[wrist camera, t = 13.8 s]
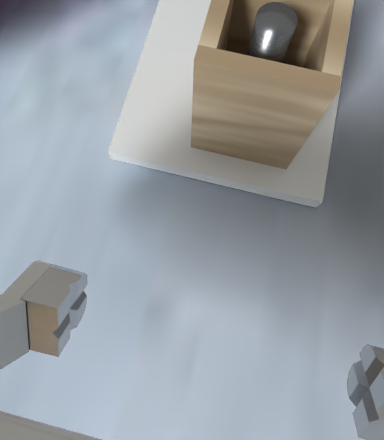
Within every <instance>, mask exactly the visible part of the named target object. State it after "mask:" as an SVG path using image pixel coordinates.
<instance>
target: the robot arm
mask: <svg viewBox="0 0 384 440" xmlns="http://www.w3.org/2000/svg"><path fill="white" fill-rule="evenodd" d="M86 285H87V275H86V274H85V273H83V272H79V271H75V270H72V269H68V268H65V267H61V266H57V265H52V264H49V263H45V262H42V261H35V262H33V263H32V264H31V265H30V266H29V267H28V268H27V269H26V270H25V271H24V272H23V273H22V274H21V275H20V276H19V277H18V278H17V279H16V280H15V281H14V282H13V283H12V285H11V286H10V287H9V288H8V289H7V290H6V291H5V292H4V293H3V294H2V295H0V369H2V368H4V367H5V366H7V365H8V364H10V363H12V362H13V361H15V360H16V359H18V358H19V357H21V356H23V355H24V354H26V353H27V352H29V350H32V351H37V352H41V353H45V354H49V355H54V356H58V357H59V355H60V354H61V352H62V350H63V349H64V347H65V346H66V344H67V342H68V341H69V339H70V330H72V329H74V328H75V327H77V326H78V324H79V322H80V321H81V319H82V316H83V314H84V311H85V307H86V302H87V295H86V294H85V292H84V291H83V290H84V289H85V287H86ZM359 354H360V357H361V361H359V362H357V363H354V364H353V365H352V367H351V369H350V371H349V373H348V379H347V391H348V395H349V399H350V400H351V401H352V402H353V404H354V405H355V406H356V409H355V410H354V412H353V417H354V421H355V425H356V429H357V433H358V437H359V438H363V439H366V440H384V348H380V347H376V346H372V345H368V344H367V345H366V346H365V347H363V349H362V350H361V352H360V353H359ZM0 440H101V439H98V438H94V437H91V436H87V435H84V434H80V433H77V432H73V431H69V430H66V429H62V428H59V427H55V426H52V425H48V424H45V423H41V422H37V421H34V420H30V419H27V418H23V417H20V416H16V415H13V414H9V413H5V412H2V411H0Z"/></svg>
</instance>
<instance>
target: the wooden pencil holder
mask: <svg viewBox="0 0 384 440" xmlns="http://www.w3.org/2000/svg"><path fill="white" fill-rule="evenodd" d="M270 2H281V3H284V4H286V5H288V6H290V7H291V8H292V9H293V10H294V11H295V13H296V15H297V20H298V21H297V25H296V28H295V31H294V33H293V36H292V39H291V41H290V44H289V46H288V49H287V52H286V54H285V57H284V60H283V62H282V63H280V62H275V61H271V60H266V59H261V58H257V57H252V56H248V55H247V53H248V48H249V44H250V40H251V35H252V31H253V27H254V23H255V18H256V14H257V11H258V10H259V8H260V7H261V6H263V5H264V4H266V3H270ZM352 3H353V0H211V3H210V6H209V10H208V13H207V16H206V20H205V23H204V27H203V30H202V33H201V37H200V40H199V44H198V47H197V51H196V54H195V57H194V68H193V97H192V125H191V147H192V148H196V149H200V150H204V151H209V152H213V153H217V154H222V155H226V156H230V157H234V158H239V159H243V160H247V161H251V162H256V163H260V164H264V165H268V166H273V167H277V168H281V169H285V170H286V169H287V168H288V166H289V165H290V163H291V162H292V160H293V159H294V157H295V156H296V154H297V153H298V151H299V150H300V148H301V147H302V145H303V144H304V142H305V141H306V139H307V138H308V136H309V135H310V133H311V132H312V131H313V129H314V128H315V126H316V125H317V123H318V122H319V120H320V119H321V117H322V116H323V114H324V113H325V111H326V110H327V108H328V107H329V105H330V104H331V102H332V101H333V99H334V98H335V96H336V95H337V93H338V92H339V85H340V79H341V73H342V66H343V60H344V54H345V47H346V41H347V35H348V29H349V22H350V16H351V10H352Z"/></svg>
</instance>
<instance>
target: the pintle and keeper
mask: <svg viewBox="0 0 384 440" xmlns="http://www.w3.org/2000/svg"><path fill="white" fill-rule="evenodd" d="M297 21H298V20H297V15H296V13H295V11H294V10H293V9H292V8H291V7H290V6H288V5H286V4H284V3H281V2H270V3H266V4H264V5H263V6H261V7H260V8H259V10H258V11H257V14H256V18H255V23H254V27H253V31H252V35H251V40H250V44H249V48H248V53H247V55H248V56H252V57H257V58H261V59H266V60H271V61H275V62H280V63H282V62H283V60H284V57H285V54H286V52H287V49H288V46H289V44H290V41H291V39H292V36H293V33H294V31H295V28H296V25H297Z"/></svg>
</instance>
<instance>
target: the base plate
mask: <svg viewBox="0 0 384 440" xmlns="http://www.w3.org/2000/svg"><path fill="white" fill-rule="evenodd" d="M210 3H211V0H159V3H158V6H157V9H156V12H155V15H154V17H153V20H152V23H151V26H150V29H149V32H148V35H147V38H146V41H145V44H144V47H143V50H142V53H141V56H140V58H139V61H138V64H137V67H136V70H135V73H134V76H133V79H132V82H131V85H130V88H129V91H128V94H127V96H126V99H125V102H124V105H123V108H122V111H121V114H120V117H119V120H118V123H117V126H116V129H115V132H114V135H113V137H112V140H111V143H110V146H109V149H108V153H109V155H110V157H111V159H113V160H117V161H122V162H126V163H130V164H134V165H138V166H143V167H147V168H151V169H155V170H159V171H164V172H168V173H172V174H176V175H180V176H185V177H189V178H193V179H197V180H201V181H206V182H210V183H214V184H218V185H222V186H226V187H231V188H235V189H239V190H243V191H247V192H252V193H256V194H260V195H264V196H268V197H273V198H277V199H281V200H285V201H289V202H294V203H298V204H302V205H306V206H310V207H315V208H316V207H318V206H319V205H320V204H321V203H322V202H323V196H324V190H325V184H326V177H327V171H328V165H329V158H330V152H331V146H332V139H333V133H334V126H335V120H336V114H337V107H338V101H339V95H340V88H341V82H342V76H343V69H344V63H345V57H346V50H347V44H348V37H349V31H350V25H351V18H352V12H353V6H354V0H353V3H352V10H351V16H350V22H349V29H348V35H347V41H346V47H345V54H344V60H343V66H342V73H341V79H340V85H339V92H338V93H337V95H336V96H335V98H334V99H333V101H332V102H331V104H330V105H329V107H328V108H327V110H326V111H325V113H324V114H323V116H322V117H321V119H320V120H319V122H318V123H317V125H316V126H315V128H314V129H313V131H312V132H311V133H310V135H309V136H308V138H307V139H306V141H305V142H304V144H303V145H302V147H301V148H300V150H299V151H298V153H297V154H296V156H295V157H294V159H293V160H292V162H291V163H290V165H289V166H288V168H287V169H286V170H285V169H281V168H277V167H273V166H268V165H264V164H260V163H256V162H251V161H247V160H243V159H239V158H234V157H230V156H226V155H222V154H217V153H213V152H209V151H204V150H200V149H196V148H192V147H191V125H192V97H193V68H194V57H195V54H196V51H197V47H198V44H199V40H200V37H201V33H202V30H203V27H204V23H205V20H206V16H207V13H208V10H209V6H210Z"/></svg>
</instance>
